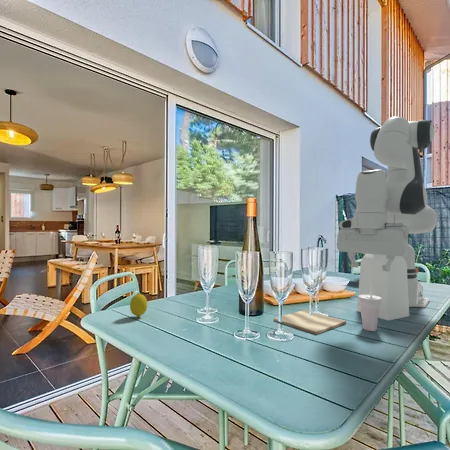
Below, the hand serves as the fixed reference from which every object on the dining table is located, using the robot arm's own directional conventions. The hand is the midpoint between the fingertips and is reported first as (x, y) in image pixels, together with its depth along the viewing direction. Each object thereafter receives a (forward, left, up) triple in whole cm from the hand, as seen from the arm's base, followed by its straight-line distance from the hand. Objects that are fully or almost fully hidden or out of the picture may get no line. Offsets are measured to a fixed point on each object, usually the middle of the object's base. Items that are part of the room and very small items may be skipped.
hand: (370, 269), depth 92 cm
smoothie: (0, 0, -18) cm, 18 cm away
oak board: (+9, -15, -18) cm, 25 cm away
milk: (-20, -5, -18) cm, 28 cm away
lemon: (+50, -53, -18) cm, 75 cm away
